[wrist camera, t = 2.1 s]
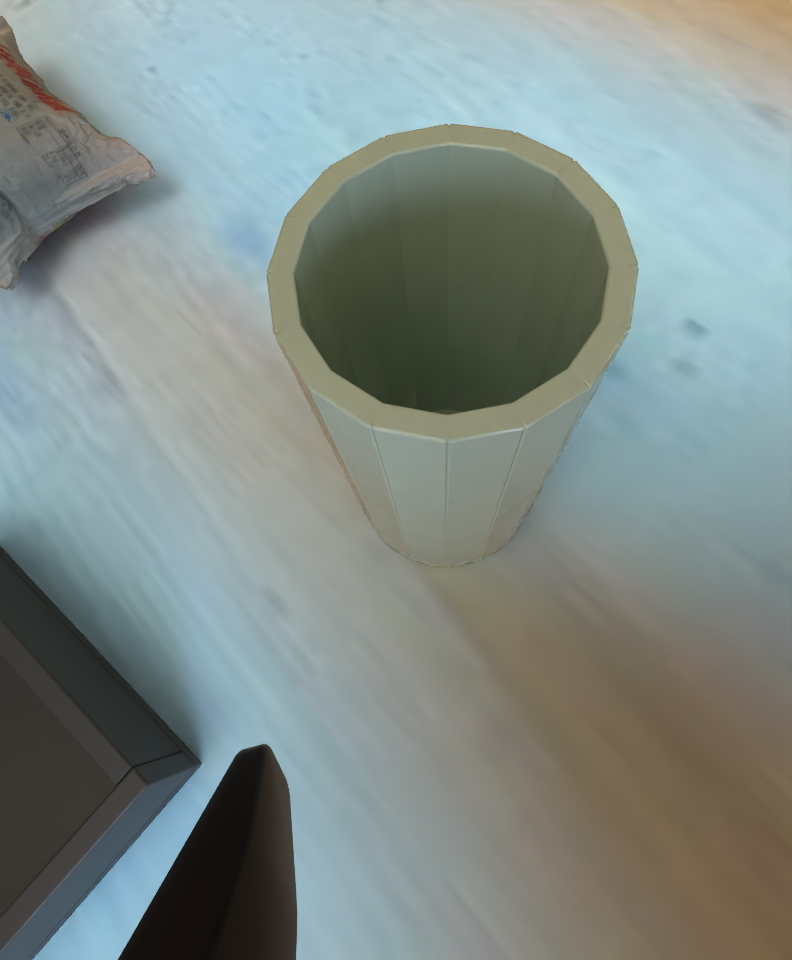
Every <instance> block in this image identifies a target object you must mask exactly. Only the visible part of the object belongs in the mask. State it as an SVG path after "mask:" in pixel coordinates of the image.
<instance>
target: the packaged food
mask: <svg viewBox="0 0 792 960" xmlns="http://www.w3.org/2000/svg"><path fill="white" fill-rule="evenodd" d="M155 177H156V175H155V170H154V168H153V166H152V164H151V162H150V161H149V160H148V159H147V158H146V157H145V156H144V155H143V154H141V153H140V152H138V151H137V150H136V149H135V148H133V147H132V146H131V145H129V144H128V143H127V142H125V141H124V140H122V139H121V138H116V137H108V136H105V135H101V133H100V132H99V131H98V130H97V129H95V128H94V127H93V126H92V125H91V124H90V123H88V121H87V120H86V119H85V118H84V117H83V116H82V115H81V114H80V113H79V112H77V111H76V110H74V109H73V108H72V107H71V106H69V105H68V104H66V103H65V102H63V101H61V100H59V99H58V98H57V97H55V96H53V95H52V94H51V93H50V92H49V91H48V89H47V88H46V86H45V84H44V81H43V80H42V79H41V78H40V77H39V76H38V75H37V74H36V73H35V72H34V70H33V69H32V68H31V67H30V66H29V65H28V64H27V63H26V62H25V60H24V59H23V57H22V55H21V54H20V52H19V49H18V46H17V43H16V39H15V36H14V33H13V31H12V28H11V27H10V26H9V24H8V23H7V21H6V20H5V18H4V17H3V16H0V288H2V289H4V290H13V289H14V288H15V287H16V285H17V284H18V283H19V267H20V265H21V263H22V262H23V260H24V261H25V262H27V261H28V257H29V256H30V255H31V254H32V253H33V252H34V251H35V250H36V248H37V247H38V246H39V245H40V244H41V243H42V241H43V240H44V239H45V238H46V237H47V236H48V235H49V234H50V233H52V232H53V231H55V230H56V229H57V228H59V227H60V226H62V225H63V224H64V223H66V222H67V221H68V220H70V219H71V218H72V217H74V216H75V215H76V214H78V213H79V212H80V211H82V210H83V209H84V208H86V207H87V206H89V205H92V204H95V203H96V202H98V201H99V200H101V199H102V198H104V197H106V196H108V195H110V194H112V193H113V192H115V191H120V190H121V188H122V187H123V186H125V185H127V184H133V185H138V184H139V183H140V181H148V180H149V178H155Z"/></svg>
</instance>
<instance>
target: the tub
mask: <svg viewBox="0 0 792 960" xmlns="http://www.w3.org/2000/svg"><path fill="white" fill-rule="evenodd" d="M200 765H201V762H200V760H199V759H198V758H197V757H196V756H195V755H194V754H193V753H192V752H191V751H190V750H189V749H188V748H187V747H186V745H185V744H184V743H183V742H182V741H181V740H180V739H179V738H178V737H177V736H176V735H175V734H174V733H173V731H172V730H171V729H170V728H169V727H168V726H167V725H166V724H165V723H164V722H163V721H162V720H161V719H160V718H159V716H158V715H157V714H156V713H155V712H154V711H153V710H152V709H151V708H150V707H149V706H148V705H147V704H146V702H145V701H144V700H143V699H142V698H141V697H140V696H139V695H138V694H137V693H136V692H135V691H134V690H133V689H132V687H131V686H130V685H129V684H128V683H127V682H126V681H125V680H124V679H123V678H122V677H121V676H120V675H119V674H118V672H117V671H116V670H115V669H114V668H113V667H112V666H111V665H110V664H109V663H108V662H107V661H106V660H105V658H104V657H103V656H102V655H101V654H100V653H99V652H98V651H97V650H96V649H95V648H94V647H93V646H92V645H91V643H90V642H89V641H88V640H87V639H86V638H85V637H84V636H83V635H82V634H81V633H80V632H79V631H78V629H77V628H76V627H75V626H74V625H73V624H72V623H71V622H70V621H69V620H68V619H67V618H66V617H65V616H64V614H63V613H62V612H61V611H60V610H59V609H58V608H57V607H56V606H55V605H54V604H53V603H52V602H51V601H50V599H49V598H48V597H47V596H46V595H45V594H44V593H43V592H42V591H41V590H40V589H39V588H38V587H37V585H36V584H35V583H34V582H33V581H32V580H31V579H30V578H29V577H28V576H27V575H26V574H25V573H24V572H23V570H22V569H21V568H20V567H19V566H18V565H17V564H16V563H15V562H14V561H13V560H12V559H11V558H10V557H9V555H8V554H7V553H6V552H5V551H4V550H3V549H2V548H1V547H0V960H32V959H33V958H34V957H35V956H36V954H37V953H38V952H39V951H40V950H41V949H42V948H43V946H44V945H45V944H46V943H47V942H48V941H49V939H50V938H51V937H52V936H53V935H54V934H55V933H56V931H57V930H58V929H59V928H60V927H61V926H62V924H63V923H64V922H65V921H66V920H67V919H68V918H69V916H70V915H71V914H72V913H73V912H74V911H75V909H76V908H77V907H78V906H79V905H80V904H81V903H82V901H83V900H84V899H85V898H86V897H87V896H88V894H89V893H90V892H91V891H92V890H93V889H94V888H95V886H96V885H97V884H98V883H99V882H100V881H101V880H102V878H103V877H104V876H105V875H106V874H107V873H108V871H109V870H110V869H111V868H112V867H113V866H114V865H115V863H116V862H117V861H118V860H119V859H120V858H121V856H122V855H123V854H124V853H125V852H126V851H127V850H128V848H129V847H130V846H131V845H132V844H133V843H134V841H135V840H136V839H137V838H138V837H139V836H140V835H141V833H142V832H143V831H144V830H145V829H146V828H147V827H148V825H149V824H150V823H151V822H152V821H153V820H154V818H155V817H156V816H157V815H158V814H159V813H160V812H161V810H162V809H163V808H164V807H165V806H166V805H167V803H168V802H169V801H170V800H171V799H172V798H173V797H174V795H175V794H176V793H177V792H178V791H179V790H180V788H181V787H182V786H183V785H184V784H185V783H186V782H187V780H188V779H189V778H190V777H191V776H192V775H193V773H194V772H195V771H196V770H197V769H198V768H199V767H200Z"/></svg>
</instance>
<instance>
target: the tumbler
mask: <svg viewBox="0 0 792 960" xmlns="http://www.w3.org/2000/svg"><path fill="white" fill-rule="evenodd" d="M637 265H638V262H637V259H636V256H635V253H634V251H633V248H632V245H631V242H630V239H629V236H628V233H627V230H626V227H625V224H624V221H623V218H622V216H621V213H620V210H619V208H618V207H617V205H616V203H615V202H614V201H613V200H612V199H611V198H610V196H609V195H608V194H607V193H606V192H605V191H604V190H603V189H602V188H601V187H600V186H599V185H598V184H597V183H596V182H595V181H594V180H593V179H592V177H591V176H590V175H589V174H588V173H587V172H586V171H585V170H584V169H583V168H582V167H581V166H580V165H579V164H578V163H577V162H576V161H573V159H572V158H570V157H568V156H566V155H564V154H562V153H560V152H558V151H556V150H554V149H551V148H549V147H547V146H545V145H543V144H541V143H539V142H537V141H535V140H532V139H530V138H528V137H526V136H524V135H522V134H520V133H517V132H516V133H514V132H513V131H508V130H500V129H491V128H483V127H474V126H466V125H457V124H450V125H448V124H444V125H439V126H434V127H429V128H424V129H418V130H413V131H408V132H403V133H398V134H393V135H388V136H385V138H383V137H382V138H380V139H378V140H376V141H374V142H372V143H371V144H369V145H367V146H365V147H363V148H362V149H360V150H358V151H356V152H354V153H353V154H351V155H349V156H347V157H345V158H344V159H342V160H340V161H338V162H336V163H335V164H333V165H331V166H329V168H328V169H326V170H325V171H324V172H323V173H322V174H321V175H320V176H319V178H318V179H317V180H316V181H315V182H314V183H313V184H312V186H311V187H310V188H309V189H308V190H307V191H306V192H305V194H304V195H303V196H302V197H301V198H300V199H299V200H298V202H297V203H296V204H295V205H294V206H293V207H292V208H291V210H290V211H289V212H288V214H287V216H286V217H285V219H284V222H283V225H282V228H281V231H280V234H279V237H278V240H277V243H276V246H275V249H274V252H273V255H272V258H271V261H270V264H269V267H268V271H267V272H268V274H267V283H268V291H269V299H270V308H271V316H272V324H273V332H274V334H275V338H276V340H277V342H278V344H279V346H280V348H281V350H282V352H283V354H284V356H285V358H286V360H287V362H288V363H289V365H290V367H291V369H292V371H293V373H294V375H295V377H296V379H297V381H298V383H299V385H300V387H301V389H302V391H303V393H304V395H305V397H306V399H307V401H308V403H309V405H310V407H311V409H312V411H313V413H314V415H315V417H316V419H317V421H318V423H319V425H320V427H321V429H322V431H323V433H324V434H325V436H326V438H327V440H328V442H329V444H330V446H331V448H332V450H333V452H334V454H335V456H336V458H337V460H338V462H339V464H340V466H341V468H342V470H343V472H344V474H345V476H346V478H347V480H348V482H349V484H350V486H351V488H352V490H353V492H354V494H355V496H356V498H357V500H358V502H359V504H360V505H361V507H362V509H363V511H364V513H365V515H366V516H367V518H368V519H369V521H370V522H371V524H372V526H373V528H374V529H375V531H376V532H377V534H378V535H379V537H380V538H381V539H382V540H384V541H385V542H386V543H387V544H388V545H389V546H390V547H391V548H393V549H394V550H395V551H396V552H398V553H400V554H401V555H403V556H405V557H407V558H409V559H411V560H413V561H416V562H419V563H422V564H426V565H431V566H438V567H454V566H462V565H466V564H470V563H474V562H476V561H479V560H482V559H484V558H486V557H488V556H489V555H491V554H493V553H495V552H496V551H497V550H499V549H500V548H501V547H503V546H504V545H505V544H506V543H507V542H509V540H510V539H511V538H512V537H513V535H514V534H515V533H516V531H517V530H518V528H519V527H520V525H521V523H522V522H523V520H524V519H525V517H526V516H527V514H528V513H529V511H530V509H531V508H532V506H533V504H534V502H535V500H536V499H537V497H538V495H539V493H540V491H541V490H542V488H543V486H544V484H545V482H546V481H547V479H548V477H549V475H550V473H551V472H552V470H553V468H554V466H555V464H556V463H557V461H558V459H559V457H560V455H561V454H562V452H563V450H564V448H565V446H566V445H567V443H568V441H569V439H570V437H571V436H572V434H573V432H574V430H575V428H576V427H577V425H578V423H579V421H580V419H581V418H582V416H583V414H584V412H585V410H586V409H587V407H588V405H589V403H590V401H591V400H592V398H593V396H594V394H595V392H596V391H597V389H598V387H599V385H600V383H601V382H602V380H603V378H604V376H605V374H606V373H607V371H608V369H609V367H610V365H611V364H612V362H613V360H614V358H615V356H616V355H617V353H618V351H619V349H620V347H621V346H622V344H623V342H624V340H625V338H626V337H627V335H628V331H629V329H630V327H631V320H632V312H633V305H634V298H635V291H636V283H637V276H638V266H637Z"/></svg>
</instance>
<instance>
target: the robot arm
mask: <svg viewBox="0 0 792 960" xmlns="http://www.w3.org/2000/svg"><path fill="white" fill-rule="evenodd" d="M296 944H297V899H296V882H295V867H294V852H293V836H292V821H291V806H290V794H289V788H288V784H287V780H286V778H285V776H284V774H283V772H282V770H281V768H280V766H279V764H278V761H277V759H276V757H275V755H274V753H273V751H272V749H271V748H270V747H269V746H268V745H266V744H262V745H258V746H254V747H250V748H247V749H243V750H241V751H240V752H239V753H238V754H237V755H236V756H235V758H234V759H233V761H232V763H231V765H230V766H229V768H228V770H227V772H226V773H225V775H224V777H223V778H222V780H221V782H220V784H219V785H218V787H217V789H216V791H215V792H214V794H213V796H212V798H211V799H210V801H209V803H208V804H207V806H206V808H205V810H204V811H203V813H202V815H201V817H200V818H199V820H198V822H197V824H196V825H195V827H194V829H193V830H192V832H191V834H190V836H189V837H188V839H187V841H186V843H185V844H184V846H183V848H182V850H181V851H180V853H179V855H178V856H177V858H176V860H175V862H174V863H173V865H172V867H171V869H170V870H169V872H168V874H167V876H166V877H165V879H164V881H163V882H162V884H161V886H160V888H159V889H158V891H157V893H156V895H155V896H154V898H153V900H152V902H151V903H150V905H149V907H148V908H147V910H146V912H145V914H144V915H143V917H142V919H141V921H140V922H139V924H138V926H137V928H136V929H135V931H134V933H133V934H132V936H131V938H130V940H129V941H128V943H127V945H126V947H125V948H124V950H123V952H122V954H121V955H120V957H119V959H118V960H296Z"/></svg>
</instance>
